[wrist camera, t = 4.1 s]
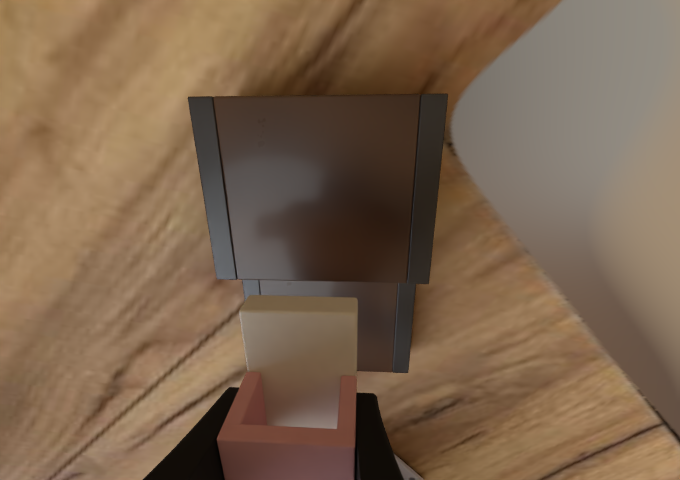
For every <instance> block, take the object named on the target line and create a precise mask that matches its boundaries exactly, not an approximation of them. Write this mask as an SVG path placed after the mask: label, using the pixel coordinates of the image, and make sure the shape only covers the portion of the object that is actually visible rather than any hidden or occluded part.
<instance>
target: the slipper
mask: <svg viewBox="0 0 680 480" xmlns="http://www.w3.org/2000/svg"><path fill="white" fill-rule="evenodd" d="M239 313H240V320H241V328H242V335H243V342H244V349H245V356H246V363H247V370H248V372H246V374H245V377H244V379H243V381H242V383H241V386H240V388H239V390H238V392H237V395H236V397H235V399H234V401H233V403H232V406H231V408H230V410H229V412H228V415H227V417H226V419H225V421H224V424H223V426H222V428H221V430H220V432H219V435H218V437H217V444H218V449H219V454H220V459H221V464H222V469H223V474H224V478H225V480H355V442H356V393H357V320H358V300H357V298H354V297H315V296H276V295H249V296H248V298H247V299H246V301H245V302H244V304H243V306H242V307H241V309H240V311H239Z"/></svg>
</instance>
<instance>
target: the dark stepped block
mask: <svg viewBox="0 0 680 480" xmlns="http://www.w3.org/2000/svg"><path fill="white" fill-rule="evenodd" d="M447 100H448V94H421V95H419V94H376V95H293V96H215V97H212V96H206V97H188V102H189V109H190V115H191V121H192V127H193V133H194V140H195V146H196V152H197V158H198V165H199V171H200V177H201V183H202V190H203V196H204V202H205V208H206V214H207V221H208V227H209V233H210V239H211V246H212V252H213V258H214V264H215V271H216V277H217V279H229V280H236V279H241V280H242V281H243V289H244V297H245V301H246V299H247V298H248V296H249V295H276V296H315V297H354V298H357V300H358V320H357V371H370V372H393V373H408V370H409V358H410V347H411V335H412V324H413V312H414V300H415V289H416V284H429V277H430V267H431V257H432V248H433V238H434V228H435V218H436V208H437V199H438V189H439V179H440V169H441V159H442V149H443V140H444V130H445V120H446V110H447Z"/></svg>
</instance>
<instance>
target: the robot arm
mask: <svg viewBox="0 0 680 480" xmlns="http://www.w3.org/2000/svg"><path fill="white" fill-rule="evenodd" d="M238 390H239V388H235V387H229V388H228V389H227V390H226V391H225V392H224V393H223V394H222V396H221V397H220V398H219V399H218V400H217V401H216V403H215V404H214V405H213V406H212V407H211V408H210V409H209V411H208V412H207V413H206V414H205V415H204V416H203V417H202V418H201V420H200V421H199V422H198V423H197V424H196V425H195V426H194V427H193V428H192V430H191V431H190V432H189V433H188V434H187V435H186V436H185V437H184V438H183V439H182V440H181V441H180V443H179V444H178V445H177V446H176V447H175V448H174V449H173V450H172V451H171V452H170V453H169V454H168V455H167V456H166V457H165V458H164V459H163V460H162V461H161V462H160V463H159V464H158V465H157V466H156V467H155V468H154V469H153V470H152V471H151V472H150V473H149V474H148V475H147V476H146V477H145V478H144V479H143V480H225V478H224V474H223V469H222V464H221V459H220V454H219V449H218V444H217V437H218V435H219V432H220V430H221V428H222V426H223V424H224V421H225V419H226V417H227V415H228V412H229V410H230V408H231V406H232V403H233V401H234V399H235V397H236V395H237V392H238ZM355 480H424V479H423V478H422V477H421V476H419V475H418V474H417V473H416V472H415V471H414V470H412V469H411V468H410V467H409V466H408V465H407V464H406V463H404V462H403V461H402V460H401V459H400V458H399V457H397V456H396V455H395V454H394V453H393V451H392V448H391V445H390V443H389V440H388V437H387V434H386V431H385V428H384V425H383V422H382V418H381V414H380V410H379V406H378V401H377V396H376V395H375V394H373V393H356V442H355Z"/></svg>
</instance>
